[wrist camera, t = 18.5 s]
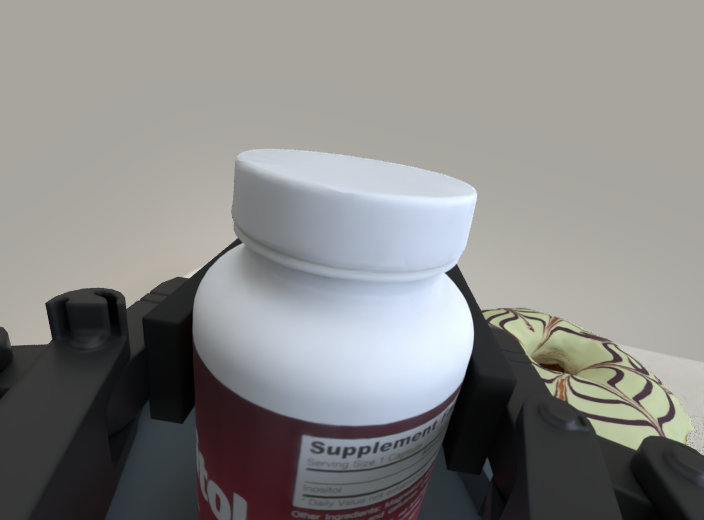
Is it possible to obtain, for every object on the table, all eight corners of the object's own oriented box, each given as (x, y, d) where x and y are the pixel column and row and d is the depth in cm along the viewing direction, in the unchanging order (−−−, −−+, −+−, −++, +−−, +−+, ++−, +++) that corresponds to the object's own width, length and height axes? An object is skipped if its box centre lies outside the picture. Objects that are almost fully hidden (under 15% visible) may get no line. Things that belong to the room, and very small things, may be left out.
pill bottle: (198, 457, 13) (193, 131, 9) (359, 426, 15) (414, 157, 11) (193, 716, 7) (172, 194, 3) (441, 607, 10) (607, 220, 6)
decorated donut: (632, 389, 22) (662, 337, 20) (694, 565, 13) (756, 492, 11) (461, 326, 26) (476, 279, 24) (415, 424, 17) (435, 358, 15)
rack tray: (-245, 1253, 4) (-366, 1281, 3) (141, 395, 16) (137, 352, 15) (653, 854, 7) (713, 814, 6) (416, 386, 19) (426, 351, 18)
